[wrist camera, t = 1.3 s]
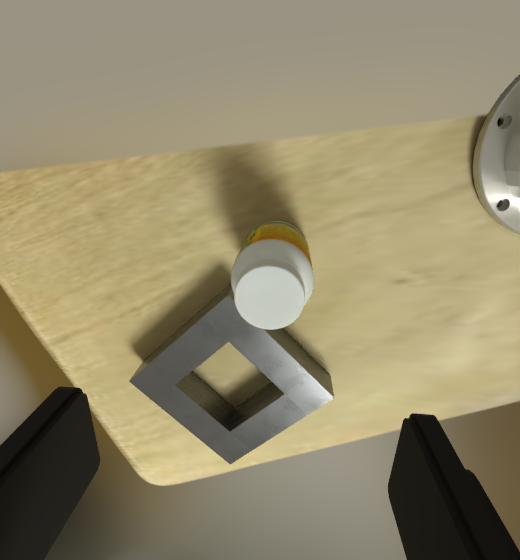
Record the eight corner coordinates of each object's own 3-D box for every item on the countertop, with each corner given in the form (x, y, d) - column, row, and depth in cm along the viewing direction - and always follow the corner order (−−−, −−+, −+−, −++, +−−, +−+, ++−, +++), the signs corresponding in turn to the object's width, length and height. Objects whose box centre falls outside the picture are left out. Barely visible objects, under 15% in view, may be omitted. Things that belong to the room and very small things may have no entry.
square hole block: (234, 280, 29) (228, 294, 26) (330, 375, 31) (334, 398, 29) (142, 361, 33) (129, 381, 30) (235, 439, 35) (230, 464, 33)
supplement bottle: (299, 287, 28) (303, 350, 19) (238, 273, 28) (214, 330, 19) (316, 227, 26) (329, 266, 17) (251, 212, 26) (230, 244, 17)
